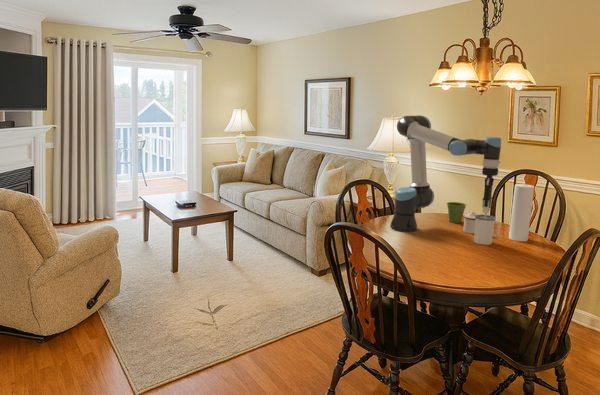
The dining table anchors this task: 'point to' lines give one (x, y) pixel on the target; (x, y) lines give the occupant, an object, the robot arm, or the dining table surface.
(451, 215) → the plant pot
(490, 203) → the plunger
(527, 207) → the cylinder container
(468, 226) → the teacup with lid
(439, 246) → the dining table surface
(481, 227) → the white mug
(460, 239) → the dining table surface
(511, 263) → the dining table surface
